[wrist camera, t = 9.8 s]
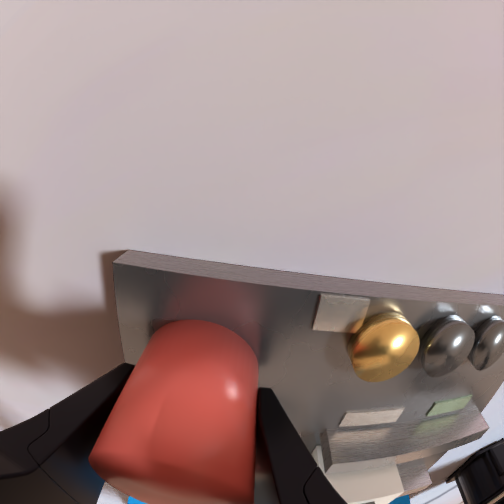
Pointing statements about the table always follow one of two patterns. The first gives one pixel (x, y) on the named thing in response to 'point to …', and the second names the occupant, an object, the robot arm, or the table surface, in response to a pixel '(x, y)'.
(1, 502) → the robot arm
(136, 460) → the cap
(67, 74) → the table surface
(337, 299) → the panel
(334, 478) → the breaker
